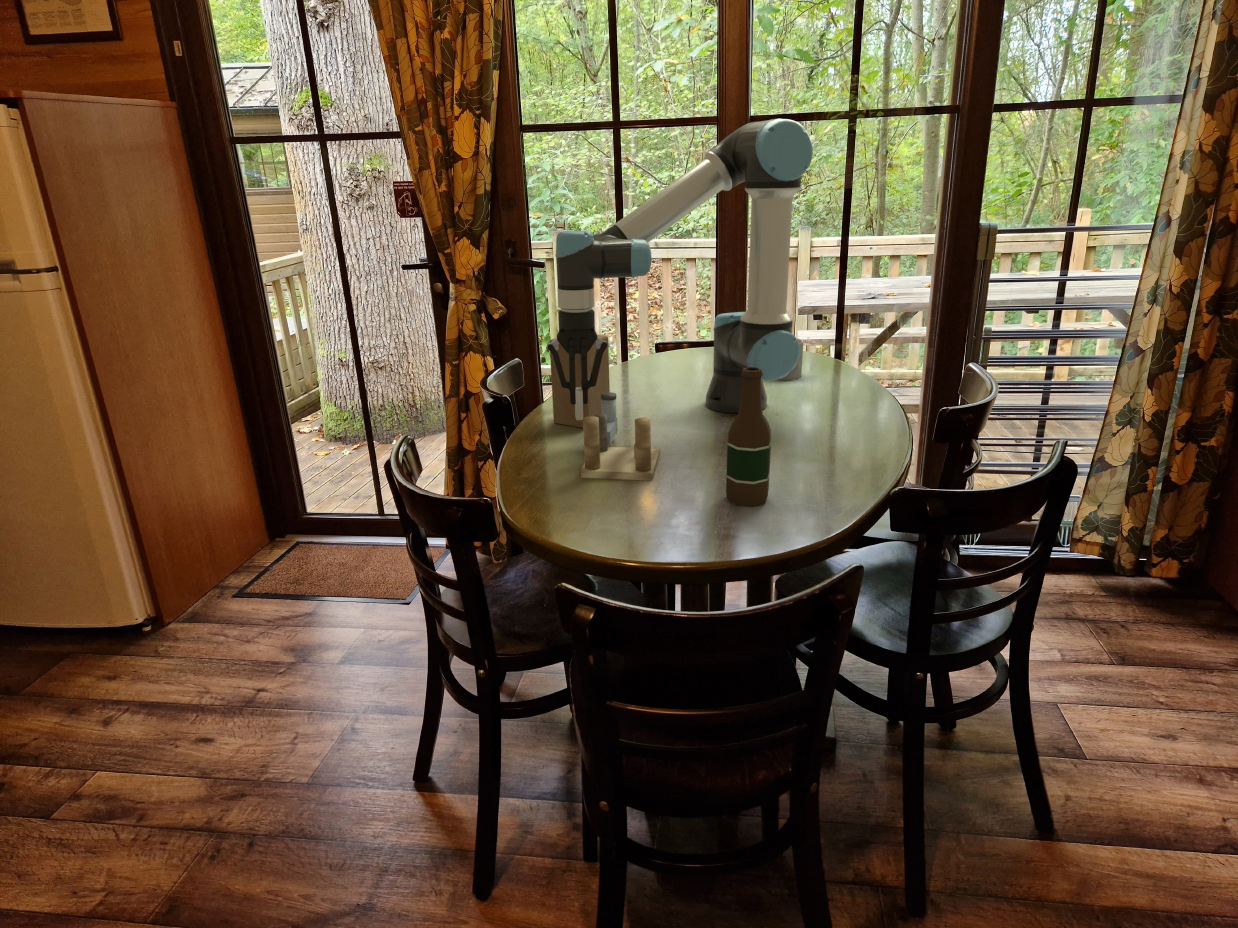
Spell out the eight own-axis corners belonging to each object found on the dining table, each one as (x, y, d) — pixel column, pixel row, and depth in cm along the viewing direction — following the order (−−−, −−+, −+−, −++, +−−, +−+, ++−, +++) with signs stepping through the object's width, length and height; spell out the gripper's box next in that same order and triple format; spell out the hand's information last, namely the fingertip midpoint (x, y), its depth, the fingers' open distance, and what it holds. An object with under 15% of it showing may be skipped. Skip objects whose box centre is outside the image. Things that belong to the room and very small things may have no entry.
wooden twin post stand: (660, 455, 164) (659, 402, 160) (652, 480, 151) (651, 423, 147) (594, 453, 166) (592, 400, 162) (580, 477, 153) (578, 421, 149)
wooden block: (587, 429, 181) (584, 343, 174) (552, 423, 186) (548, 339, 179) (611, 418, 189) (609, 335, 181) (577, 412, 194) (573, 331, 186)
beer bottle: (721, 491, 145) (724, 364, 136) (762, 489, 145) (768, 362, 137) (730, 508, 138) (734, 375, 129) (774, 506, 138) (781, 373, 130)
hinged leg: (618, 430, 174) (617, 392, 171) (611, 445, 165) (610, 405, 162) (603, 430, 174) (602, 391, 171) (595, 444, 165) (594, 404, 162)
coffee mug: (799, 371, 226) (801, 337, 223) (802, 380, 217) (805, 344, 213) (752, 371, 228) (753, 337, 224) (753, 380, 219) (755, 344, 215)
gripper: (605, 305, 166) (606, 411, 175) (543, 307, 165) (548, 414, 173) (609, 311, 159) (611, 421, 168) (545, 313, 158) (550, 425, 166)
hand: (579, 418), depth 170 cm, fingers closed
